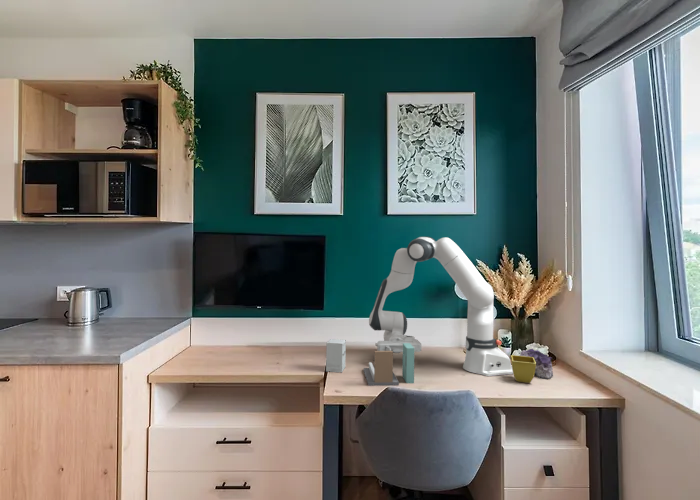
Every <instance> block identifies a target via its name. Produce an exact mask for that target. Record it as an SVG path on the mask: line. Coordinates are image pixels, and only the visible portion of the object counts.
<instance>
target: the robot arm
mask: <svg viewBox="0 0 700 500" xmlns="http://www.w3.org/2000/svg"><path fill="white" fill-rule="evenodd" d="M433 258H434V259H436V260H438V262H439V263H440V264H441V265H442V267H443V268H444V269H445V271H446V272H447V273H448V274H449V276H450V278H452V280H453V281H454V282H455V284H456V286H457V288H458V289H459V291H461V294H462V295H463V296H464V297H465V298H466V301H467V317H466V318H467V319H466V320H467V322H466V323H467V324H466V326H467V327H466V337H465V350H466V351H465V357H464V361H463V365H462V369H463V370H465V371H468V372H470V373H474V374H479V375H482V376H486V377H491V376H492V377H493V376H504V375H505V376H506V375H512V374H513V370H512V362H511V357H509V356H508V354H507V353H505V352H504V351H503V350H501V348H499V347H498V346H501V345H502V341H501V340H499V339H496V338H494V299H495V294H494V289H493V286H492V285H491V284H490V283H489V282H487V281H486V280H485V279H484V277H483V275H481V273H480V272H479V271H478V269H477V268H476V266H475V265H474V264H473V262H472V261H471V259H469V258H468V256H467V255H466V254H465V252H464V251H463V250H462V249H461V248H460V246H459V245H458V244H457V243H456V242H454V240H453V239H451V238H449V237H448V236H447V237H441V238H438V239H437V240H435V239H434V238H433V237H430V236H419V237H417V238H414V239H413V240H411V241H410V242H409V244H408V246H407V247H401V248H399V249H397V250H396V252H395V253H394V256H393V260H392V263H391V270H390V272H389V275H388V276H387V277H386V278H384V279H383V280H382V282H381V284H380V287H379V290H378V293H377V296H376V298H375V301H374V305H373V307H372V310H371V312H370V314H369V318H368V324H369V327H370V328H371V329H372V330H374V331H384V332H383V340H378V341H377V342H375V346H376V349H377V350H376V351H393V354H400V353H403V343H410V344H411V345H412V346H413V347H414V353H417V352H419V353H420V352H422V347H423V346H422V343H421V341H419V340H418V339H416V338H415V336H412V335H406V333H407V329H408V319H407V317H406V315H405V314H404V313H403V312H400V311H393V310H392V311H391V310H383V308H384V305H385V302H386V299H387V297H388V296H389V295H390V294H391V293H394V292H397V291H402V290H404V289H406V288H408V287H409V286H411V284H412V282H413V281H414V280H413V279H414V275H415V267H416V264H417V263H421V262H426V261H428V260H430V259H433ZM513 375H514V374H513Z"/></svg>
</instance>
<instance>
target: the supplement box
mask: <svg viewBox="0 0 700 500" xmlns="http://www.w3.org/2000/svg"><path fill="white" fill-rule="evenodd" d="M346 342H347V341H346V339H338V338H337V339H335V338H331V339H329V340H328V341H327V342H326V352H325V353H326V357H325V358H326V359H325V372H329V371H330V372H329V373H339V372H341V373H343V371H344V370H345V368H346V357H347V356H346V352H347V351H346V350H347V349H346V348H347V347H346V346H347V344H346Z"/></svg>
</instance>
